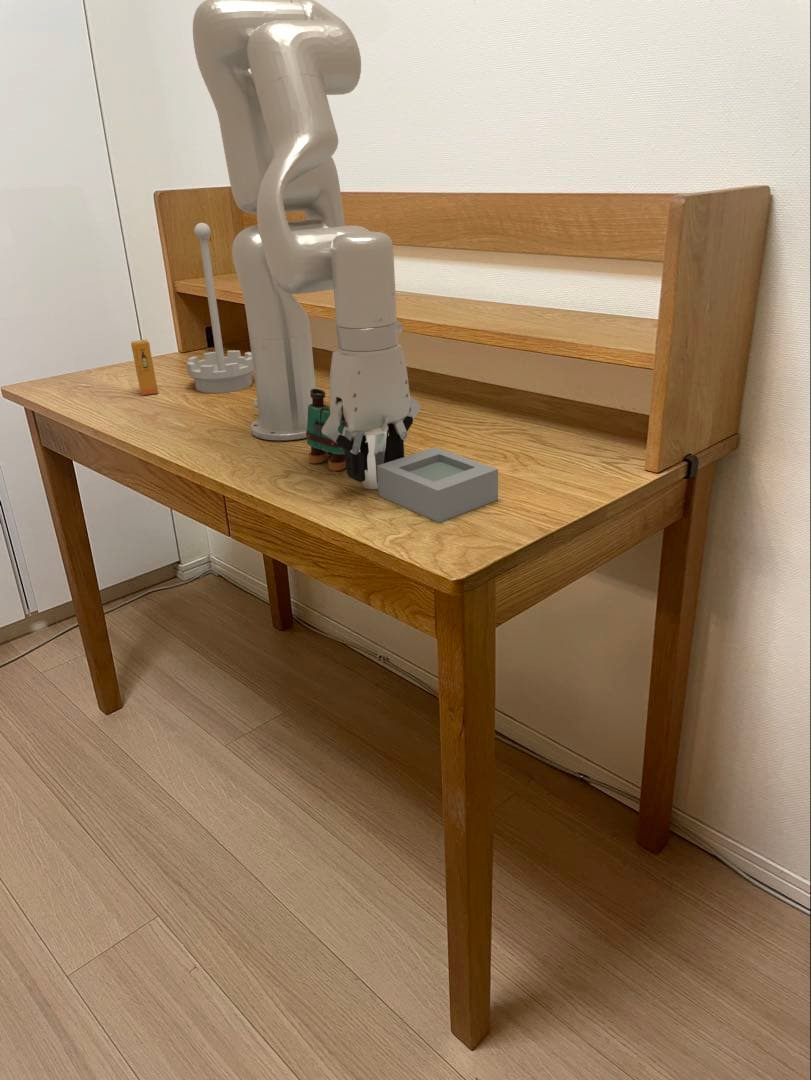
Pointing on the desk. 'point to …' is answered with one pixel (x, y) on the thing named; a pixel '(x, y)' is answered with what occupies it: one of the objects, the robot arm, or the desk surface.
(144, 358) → the supplement box
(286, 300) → the robot arm
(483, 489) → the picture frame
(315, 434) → the binoculars
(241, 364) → the flag stand
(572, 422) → the desk surface
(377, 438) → the milkshake
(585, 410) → the desk surface
